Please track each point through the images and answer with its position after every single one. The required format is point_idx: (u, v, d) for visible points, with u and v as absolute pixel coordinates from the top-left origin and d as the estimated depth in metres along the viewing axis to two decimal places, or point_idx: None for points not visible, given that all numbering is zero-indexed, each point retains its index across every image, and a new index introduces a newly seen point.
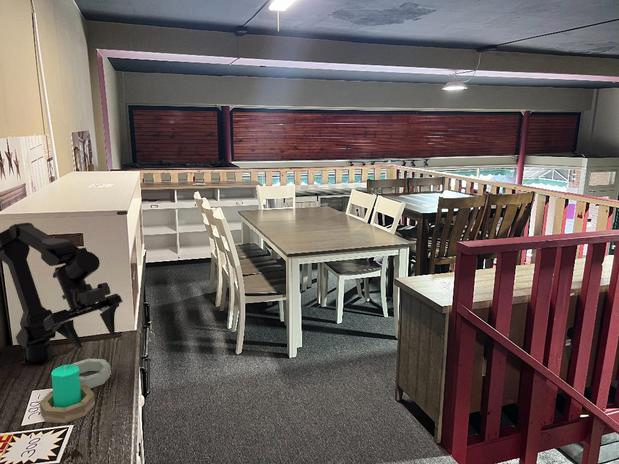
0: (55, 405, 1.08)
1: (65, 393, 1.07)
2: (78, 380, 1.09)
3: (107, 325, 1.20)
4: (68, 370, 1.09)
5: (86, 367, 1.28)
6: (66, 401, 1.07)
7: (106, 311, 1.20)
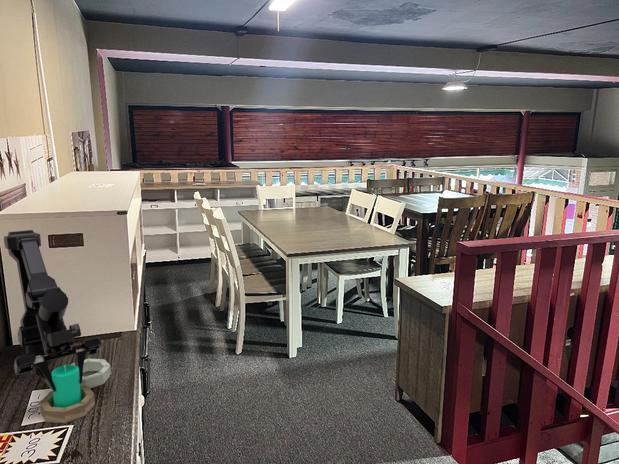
0: (55, 405, 1.08)
1: (65, 393, 1.07)
2: (78, 380, 1.09)
3: None
4: (68, 370, 1.09)
5: (86, 367, 1.28)
6: (66, 401, 1.07)
7: (76, 357, 1.13)
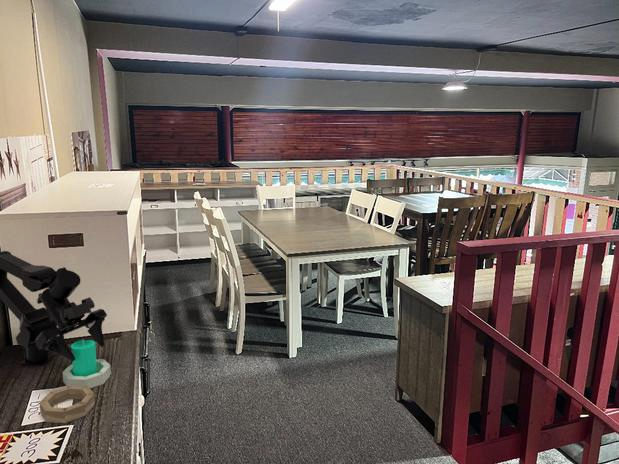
0: None
1: (89, 363, 1.21)
2: (95, 351, 1.24)
3: (96, 339, 1.27)
4: (84, 344, 1.23)
5: None
6: (89, 370, 1.21)
7: (93, 326, 1.27)
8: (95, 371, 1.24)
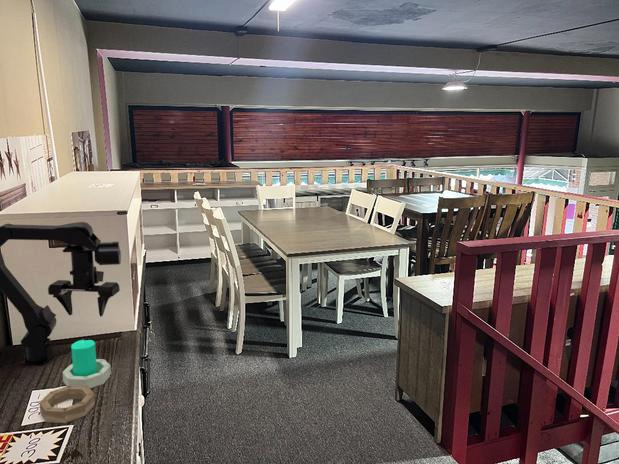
0: None
1: (88, 363, 1.21)
2: (95, 351, 1.24)
3: (68, 306, 1.33)
4: (84, 344, 1.23)
5: None
6: (89, 370, 1.21)
7: (68, 293, 1.33)
8: (95, 371, 1.23)
